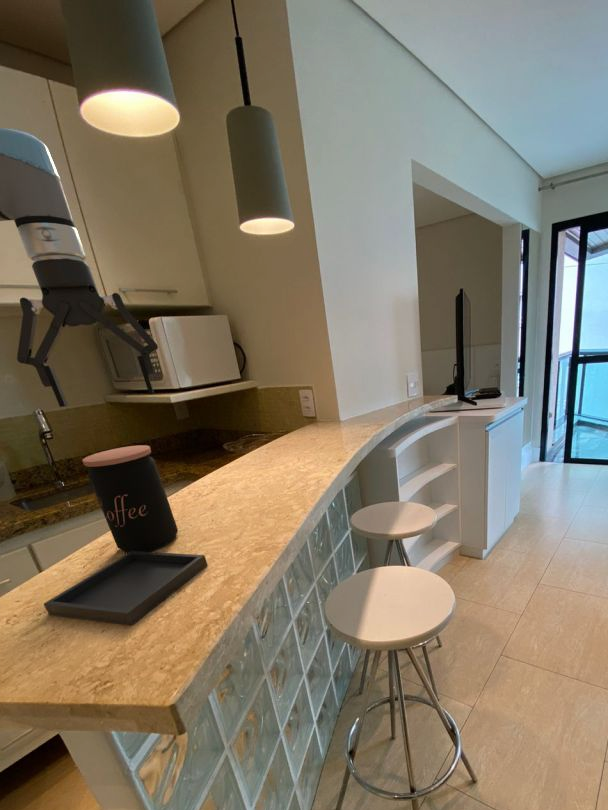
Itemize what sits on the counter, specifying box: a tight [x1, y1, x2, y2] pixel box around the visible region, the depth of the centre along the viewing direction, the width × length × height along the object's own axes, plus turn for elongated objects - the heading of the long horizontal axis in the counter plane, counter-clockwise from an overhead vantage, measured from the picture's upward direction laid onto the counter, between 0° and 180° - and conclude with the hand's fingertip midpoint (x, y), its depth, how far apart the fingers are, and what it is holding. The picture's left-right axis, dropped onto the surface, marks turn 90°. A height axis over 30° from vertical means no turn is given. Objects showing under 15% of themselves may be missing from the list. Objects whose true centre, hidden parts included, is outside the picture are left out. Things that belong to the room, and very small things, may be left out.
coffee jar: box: [82, 444, 179, 554], centre depth 76 cm, size 11×11×18 cm
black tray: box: [43, 551, 208, 626], centre depth 63 cm, size 16×16×2 cm
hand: (109, 399), depth 72 cm, fingers open, 13 cm apart
